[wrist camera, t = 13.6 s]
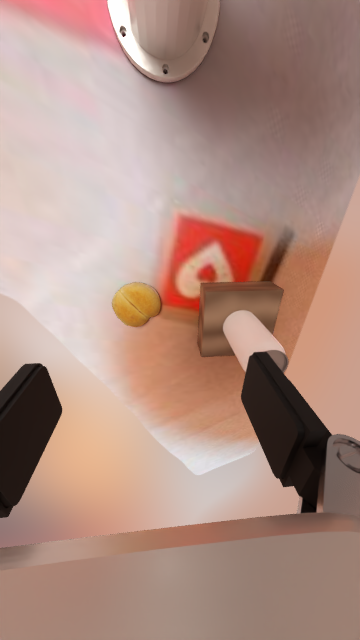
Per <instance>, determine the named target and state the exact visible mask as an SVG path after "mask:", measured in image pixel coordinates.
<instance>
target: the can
mask: <svg viewBox="0 0 360 640" xmlns="http://www.w3.org/2000/svg"><path fill="white" fill-rule="evenodd" d="M223 332H224V334H225V336H226V338H227V340H228V342H229V344H230V346H231V348H232V350H233V351H234V353H235V355H236V357H237V359H238V361H239V363H240V365H241V366H242V368H243V370H244V371H245V372H246V369H247V364H248V360H249V356H250V355H252V354H253V353H254V352H267V353H268V354H269V355H270V356H271V358H272V359H273V360H274V362H275V363H276V364H277V366H278V367H279V368H280V369H281V371H282V372H283V373H284V372H285V370H286V369H287V367H288V357H287V356H286V354H285V350H284V348H283V347H282V345H281V344H280V343H279V342H278V341H277V340H276V338H275V337H274V336H273V335H272V334H271V333H270V332H269V331H268V330H267V328H266V327H265V326H264V325H263V324H262V323H261V322H260V321H259V320H258V319H257V318H256V316H255V315H254V314H252V313H251V312H249V311H246V310H240V311H236V312H234V313H232V314H230V315H229V316H228V317H227V318H226V320H225V322H224V324H223Z"/></svg>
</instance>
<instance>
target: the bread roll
mask: <svg viewBox="0 0 360 640" xmlns="http://www.w3.org/2000/svg"><path fill="white" fill-rule="evenodd" d="M112 307H113V309H114V312H115V313H116V315H117V317H118V318H119V319H120V320H121V321H122V322H123V323H124V324H125V325H127V326H132V327H139V326H142V325H144V324H145V323H146V322H147V321H148V319H149V317H154V316H156V315H157V314H158V313H159V311H160V307H161V302H160V298H159V295H158V293H157V291H156V290H155V289H154V288H152V287H151V286H149V285H147V284H144V283H139V282H134V283H130V284H127V285H124V286H123V287H122V288H121V289H120V290H119V291H118V292H117V293H116V294H115V295H114V297H113V301H112Z"/></svg>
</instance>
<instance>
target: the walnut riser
mask: <svg viewBox="0 0 360 640" xmlns="http://www.w3.org/2000/svg"><path fill="white" fill-rule="evenodd" d="M283 291H284V290H283V289H282V288H280V287H279V286H277V285H275V284H274V283H272V282H271V281H263V282H220V283H201V287H200V305H199V324H198V342H197V343H198V347H199V350H200V354H201V357H213V356H232V355H235V353H234V351H233V350H232V348H231V346H230V344H229V342H228V340H227V338H226V336H225V334H224V332H223V324H224V322H225V320H226V318H227V317H228V316H229V315H230V314H232V313H234V312H236V311H240V310H246V311H249V312H251V313H252V314H254V315H255V316H256V318H257V319H258V320H259V321H260V322H261V323H262V324H263V325H264V326H265V327H266V328H267V330H268V331H269V332H270V333H271V334H273V331H274V327H275V323H276V319H277V315H278V311H279V307H280V303H281V299H282V295H283Z"/></svg>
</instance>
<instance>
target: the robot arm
mask: <svg viewBox="0 0 360 640" xmlns="http://www.w3.org/2000/svg"><path fill="white" fill-rule="evenodd" d="M107 4H108V10H109V14H110V18H111V22H112V25H113V28H114V31H115V34H116V36H117V39H118V41H119V43H120V45H121V47H122V49H123V51H124V53H125V54H126V55H127V57H128V58H129V60H130V61H131V63H132V64H133V65H134V66H135V67H136V68H137V69H138V70H139V71H140V72H142V73H143V74H145V75H146V76H147V77H149V78H151V79H154V80H156V81H159V82H167V83H169V82H175V81H179V80H181V79H183V78H186V77H187V76H188V75H190V74H191V73H192V72H194V71H195V70H196V68H197V67H198V66H199V65H200V64H201V62H202V61H203V59H204V57H205V56H206V54H207V52H208V50H209V48H210V45H211V43H212V40H213V37H214V34H215V30H216V27H217V22H218V16H219V11H220V0H107ZM123 34H125V35H126V37H122V35H123ZM203 40H205V41H206V43H204V42H203ZM164 71H167V74H164V73H163V72H164ZM241 399H242V403H243V405H244V407H245V410H246V412H247V414H248V416H249V419H250V421H251V423H252V426H253V428H254V430H255V433H256V435H257V437H258V439H259V442H260V444H261V446H262V449H263V451H264V453H265V455H266V458H267V460H268V462H269V465H270V467H271V469H272V472H273V474H274V475H275V477H276V478H279V479H280V481H281V483H282V485H283V487H289V486H294V487H295V489H296V491H297V493H298V495H299V503H298V510H297V514H290V515H279V516H267V517H256V518H247V519H239V520H230V521H221V522H212V523H204V524H195V525H186V526H178V527H169V528H161V529H153V530H144V531H136V532H127V533H119V534H110V535H102V536H94V537H86V538H78V539H69V540H61V541H54V542H46V543H38V544H30V545H21V546H14V547H6V548H0V640H360V441H358V440H356V439H354V438H352V437H349V436H346V435H341V434H336V435H332V434H331V433H330V432H329V430H328V429H327V428H326V427H325V425H324V424H323V423H322V422H321V420H320V419H319V418H318V416H317V415H316V414H315V412H314V411H313V410H312V408H310V406H309V405H308V403H307V402H306V401H305V399H304V398H303V397H302V396H301V394H300V393H299V392H298V390H297V389H296V388H295V386H294V385H293V384H292V383H291V382H290V381H289V380H288V379H287V377H286V376H285V375H284V373H283V372H282V371H281V369H280V368H279V367H278V366H277V364H276V363H275V362H274V360H273V359H272V358H271V356H270V355H269V354H268V353H267V352H254V353H253V354H252V355H250V356H249V360H248V364H247V369H246V374H245V379H244V384H243V389H242V394H241ZM61 414H62V406H61V404H60V401H59V399H58V396H57V394H56V391H55V388H54V386H53V383H52V381H51V378H50V376H49V373H48V371H47V368H46V367H45V366H43V365H42V364H40V363H37V364H36V363H35V364H25V365H23V366H22V367H21V368H20V369H19V370H18V372H17V373H16V374H15V375H14V376H13V377H12V378H11V380H10V381H9V382H8V383H7V384H6V385H5V386H4V387H3V389H2V390H1V391H0V518H3V517H8V516H9V514H10V512H11V510H12V508H13V506H15V505H17V504H18V502H19V501H20V499H21V497H22V495H23V493H24V491H25V488H26V487H27V485H28V483H29V481H30V478H31V477H32V474H33V472H34V470H35V468H36V466H37V464H38V462H39V460H40V458H41V456H42V454H43V452H44V450H45V447H46V445H47V443H48V441H49V439H50V437H51V435H52V433H53V431H54V429H55V427H56V425H57V423H58V420H59V418H60V416H61Z"/></svg>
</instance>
